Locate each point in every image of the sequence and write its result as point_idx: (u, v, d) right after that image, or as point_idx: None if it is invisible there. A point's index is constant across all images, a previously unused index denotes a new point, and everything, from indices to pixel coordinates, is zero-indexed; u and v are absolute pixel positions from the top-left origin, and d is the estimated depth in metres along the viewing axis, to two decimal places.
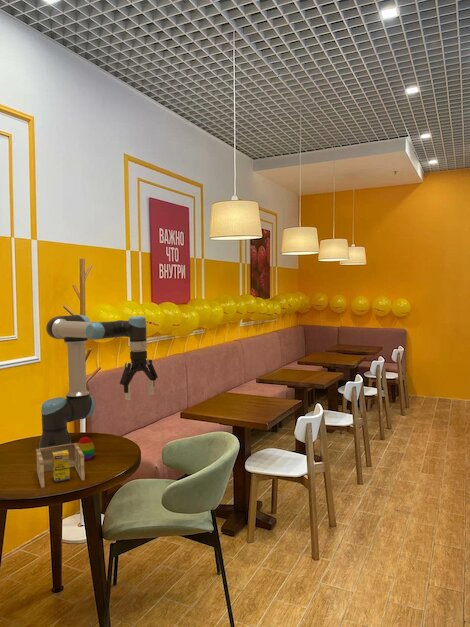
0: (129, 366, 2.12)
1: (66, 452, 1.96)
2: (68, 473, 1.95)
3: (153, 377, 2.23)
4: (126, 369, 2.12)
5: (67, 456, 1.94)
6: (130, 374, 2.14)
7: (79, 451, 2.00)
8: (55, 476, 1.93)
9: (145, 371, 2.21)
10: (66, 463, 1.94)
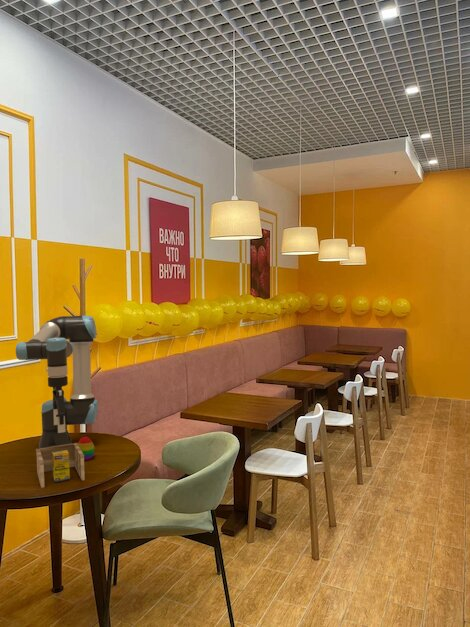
0: (53, 389, 2.00)
1: (66, 452, 1.96)
2: (68, 473, 1.95)
3: (58, 413, 1.88)
4: None
5: (67, 456, 1.94)
6: None
7: (79, 451, 2.00)
8: (55, 476, 1.93)
9: None
10: (65, 463, 1.94)
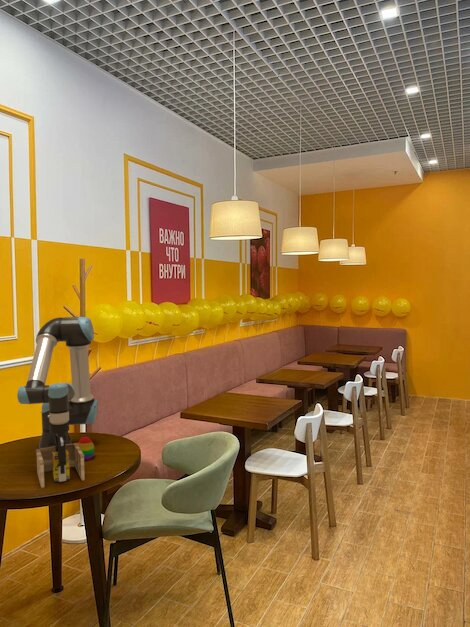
0: None
1: (66, 452, 1.96)
2: (68, 473, 1.95)
3: (59, 462, 1.92)
4: None
5: (67, 456, 1.94)
6: None
7: (79, 451, 2.00)
8: (55, 476, 1.93)
9: None
10: None
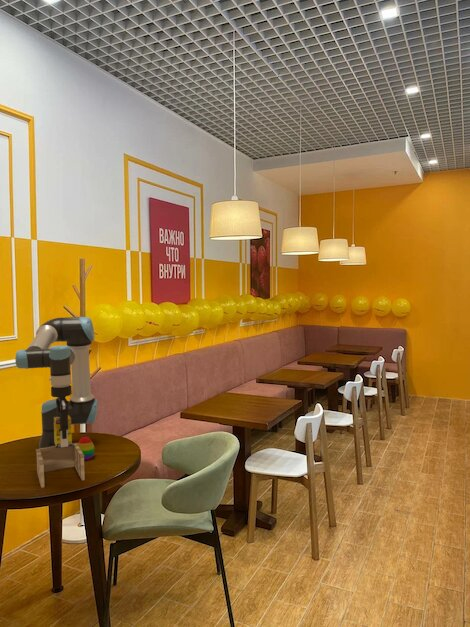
0: None
1: (68, 417, 1.88)
2: (70, 439, 1.87)
3: None
4: None
5: (69, 421, 1.86)
6: None
7: (79, 451, 2.00)
8: (57, 441, 1.85)
9: None
10: None
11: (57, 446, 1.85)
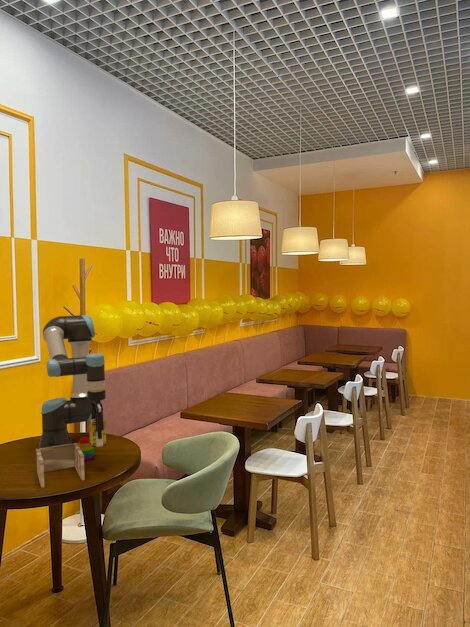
0: None
1: None
2: (104, 439, 2.04)
3: (96, 428, 2.01)
4: None
5: (103, 422, 2.04)
6: None
7: (79, 451, 2.00)
8: (93, 441, 2.02)
9: None
10: None
11: (93, 445, 2.02)
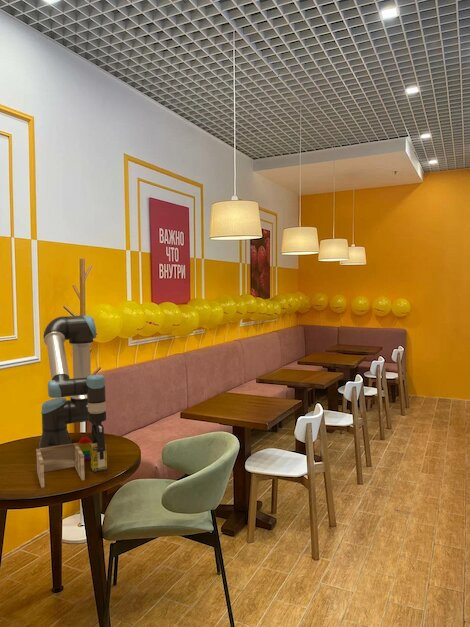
0: None
1: None
2: (105, 464, 2.05)
3: (98, 448, 2.00)
4: None
5: None
6: None
7: (79, 451, 2.00)
8: (93, 466, 2.03)
9: None
10: None
11: (94, 471, 2.03)
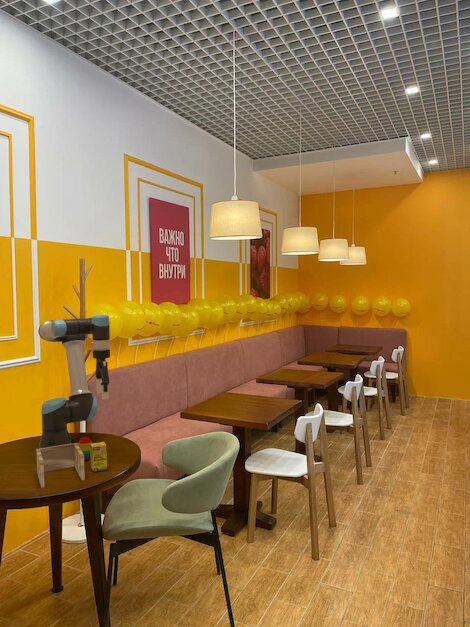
0: (96, 361, 2.22)
1: (103, 444, 2.06)
2: (105, 464, 2.05)
3: (102, 381, 2.10)
4: None
5: (104, 447, 2.04)
6: None
7: (79, 451, 2.00)
8: (93, 466, 2.03)
9: None
10: (103, 454, 2.04)
11: (94, 471, 2.03)
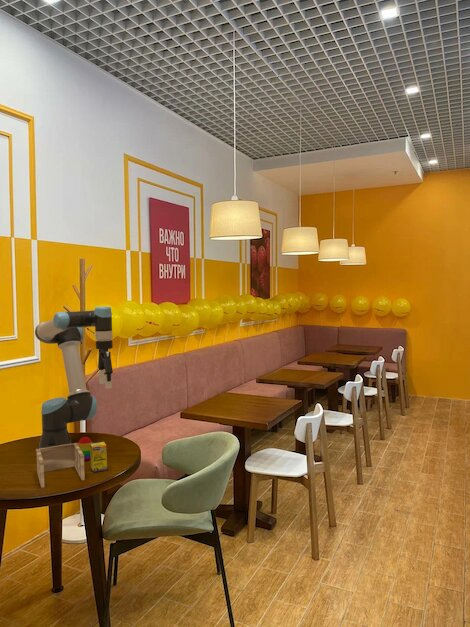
0: (99, 352, 2.27)
1: (103, 444, 2.06)
2: (105, 464, 2.05)
3: (105, 371, 2.15)
4: None
5: (104, 447, 2.04)
6: None
7: (79, 451, 2.00)
8: (93, 466, 2.03)
9: None
10: (103, 454, 2.04)
11: (94, 471, 2.03)
